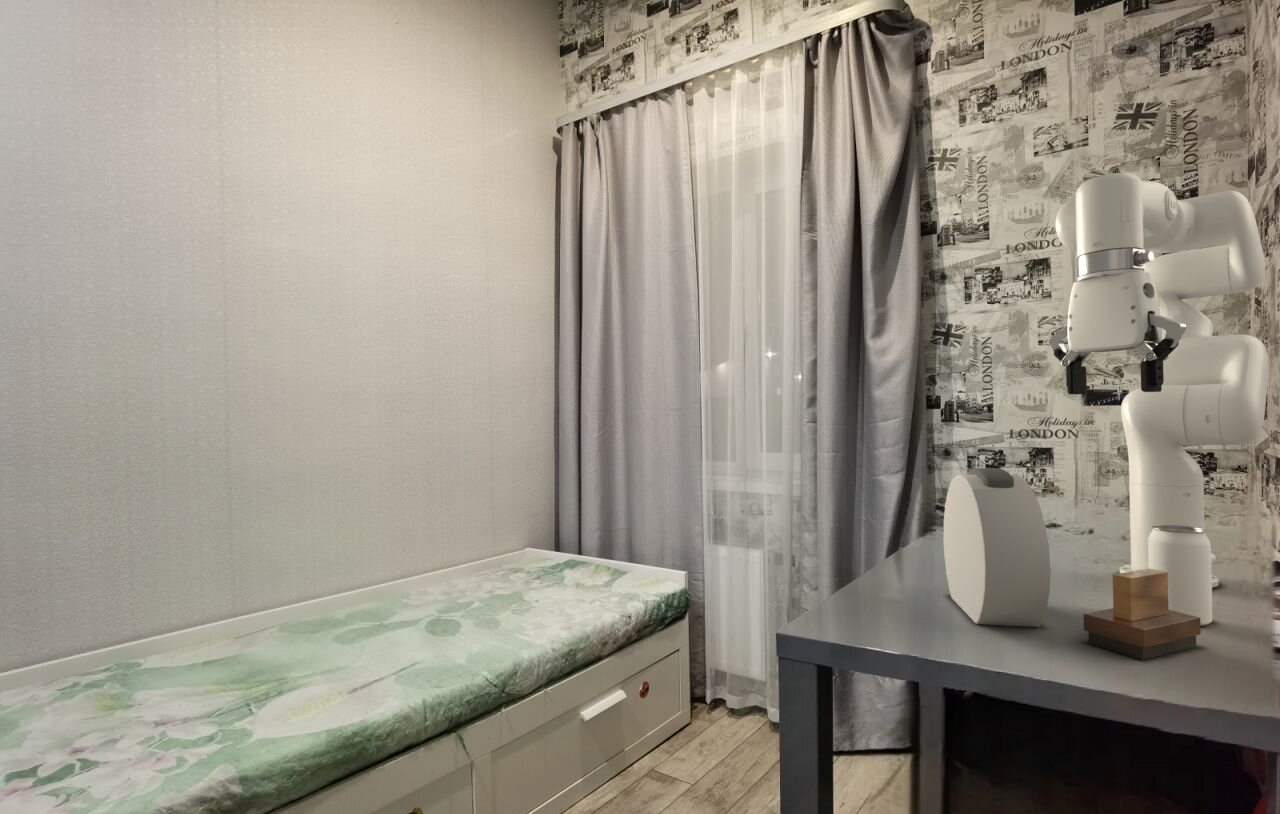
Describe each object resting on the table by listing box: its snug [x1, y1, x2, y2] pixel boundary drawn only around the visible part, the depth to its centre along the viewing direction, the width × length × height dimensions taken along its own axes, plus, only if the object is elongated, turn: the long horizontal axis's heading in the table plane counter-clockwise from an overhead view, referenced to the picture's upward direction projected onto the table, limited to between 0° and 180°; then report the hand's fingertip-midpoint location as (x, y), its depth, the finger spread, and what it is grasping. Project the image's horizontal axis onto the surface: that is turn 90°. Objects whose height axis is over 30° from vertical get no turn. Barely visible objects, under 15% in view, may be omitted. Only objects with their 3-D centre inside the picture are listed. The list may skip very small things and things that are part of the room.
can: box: [1148, 525, 1213, 627], centre depth 88 cm, size 6×6×12 cm
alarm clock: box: [943, 467, 1052, 628], centre depth 92 cm, size 21×8×20 cm, turn 168°
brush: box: [1083, 569, 1202, 661], centre depth 78 cm, size 11×7×8 cm, turn 113°
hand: (1112, 393), depth 91 cm, fingers open, 9 cm apart
